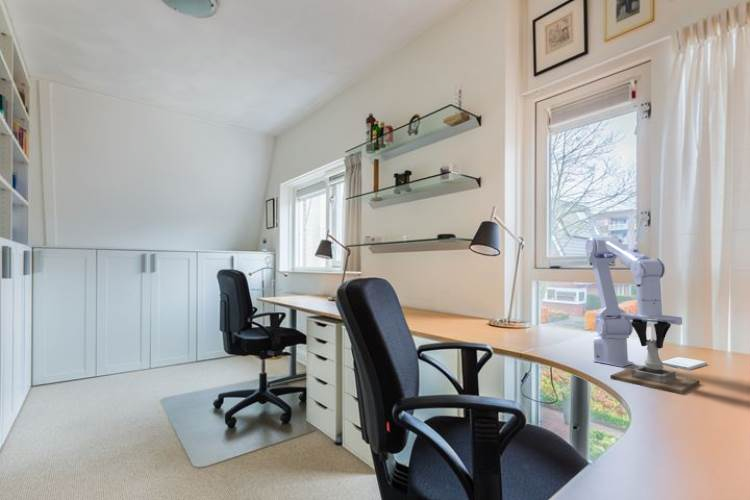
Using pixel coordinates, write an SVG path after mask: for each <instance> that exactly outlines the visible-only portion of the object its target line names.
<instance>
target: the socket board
mask: <svg viewBox="0 0 750 500" xmlns="http://www.w3.org/2000/svg"><path fill="white" fill-rule="evenodd" d="M609 377H610V379H611V380H616V381H620V382H623V383H624V382H625V383H628V384H632V385H638V386H643V387H647V388H650V389H651V388H652V389H655V390H656V389H657V390H661V391H666V392H669V393H675V394H680V395H683V394H685V393H686V392H688V391H690V390H691V389H693V388H694V387H695V388H696V387H697V386H698V385H700V384H701V381H700V379H696V378H690V377H689V378H688V377H685V376H679V375H676V371H675V370H670V369H664V368H663V369H661V370H652V369H648V368H646V367H645V365H641V366H639V367H628V368H625V369H623V370H621V371H618V372H616V373H613V374H610V376H609Z"/></svg>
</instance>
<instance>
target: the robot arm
mask: <svg viewBox="0 0 750 500" xmlns="http://www.w3.org/2000/svg"><path fill="white" fill-rule="evenodd" d="M585 252H586V258H587V261H588V262H589V263H590V264H591V265H592V270H593V274H594V280H595V283H596V288H597V293H598V297H599V301H600V306H601V309H600V310H599V311H598V312H597V313H596V314H595V315H594V321H595V323H594V327H595V331H596V332H597V334H598V335H596V336H595V337H594V339H593V357H594V358H593V361H592V362H594V363H601V364H604V365H610V366H615V367H622V368H624V367H627V366H629V365H632V364H634V362H633V361H631V360H629V355H628V339H629V338H630V336H631V335H632V333H633V330H635V332H636V335H637V336H638V339H639V342H640V345H641V347H648V346H647V345H646V344H645V343H646V342H647V340H648V338H647V328H648V322H650V323H654V324H653V327H654V331H655V338H656V339H655V340H656V345H657V348H658V349H660V350H661V349H663V348H664V342H665V338H666V335H667V333H668V332H669V330H670V328H671V326H672V325H677V326H680V325H683V317H681V316H673V315H664V314H663V309H662V308H663V306H662V305H663V304H662V288H661V278H663V277H664V276H665V272H666V268H665V264H664V262H663V260H661V259H660V258H658V257H657V258H650V257H648V255H646V254H644V253H642V252H641V251H639V249H638V248H636V247H635V248H628V247H626V246H625V245H624V244H623V242H622V238H619V237H618V236H613V237H612V236H610V237H609V236H608V237H607V236H606V237H591V236H590V237H588V239H587V240H586V243H585ZM617 257H618V258H619V261H620V263H621V264H622V265H623V266H625V267H626V268H628V269H630V272H631V276H632V278H633V283H634V284H635V285H636V299H637V300H636V301H637V302H636V303H637V313H635V312H626V311H625V310H623V309H622V308H620V307H619V303H618V298H617V294H616V291H615V286H614V281H613V278H612V273H611V269H610V264H611V263H614V262H615V260H617Z"/></svg>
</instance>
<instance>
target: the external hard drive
mask: <svg viewBox="0 0 750 500" xmlns="http://www.w3.org/2000/svg"><path fill="white" fill-rule="evenodd" d="M661 361H662V360H661ZM662 363H663V365H662V366H664V365H665V366H664V367H669V368H670V367H671V368H676V369H679V368H680V369H681V370H685V371H691V370H693V369H697V368H700V367H701V368H702V367H705V366H707V365H708V364H707V361H703V360H701V359H695V358H694V359H693V358H687V357H686V358H685V357H682V356H677V357H674V358H670V359H667V360H663V361H662Z"/></svg>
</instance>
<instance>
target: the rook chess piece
mask: <svg viewBox="0 0 750 500" xmlns="http://www.w3.org/2000/svg"><path fill="white" fill-rule="evenodd" d="M645 344H646V345H647V346H646V350H647V356H646V359H645V360H644V366H645V367H646V368H648V369H652V370H661V369H664V368H665V366H664V365H663V363H662V360H661V359H660V355H659V348H657V345H656V339H647V342H646V343H645Z"/></svg>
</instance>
